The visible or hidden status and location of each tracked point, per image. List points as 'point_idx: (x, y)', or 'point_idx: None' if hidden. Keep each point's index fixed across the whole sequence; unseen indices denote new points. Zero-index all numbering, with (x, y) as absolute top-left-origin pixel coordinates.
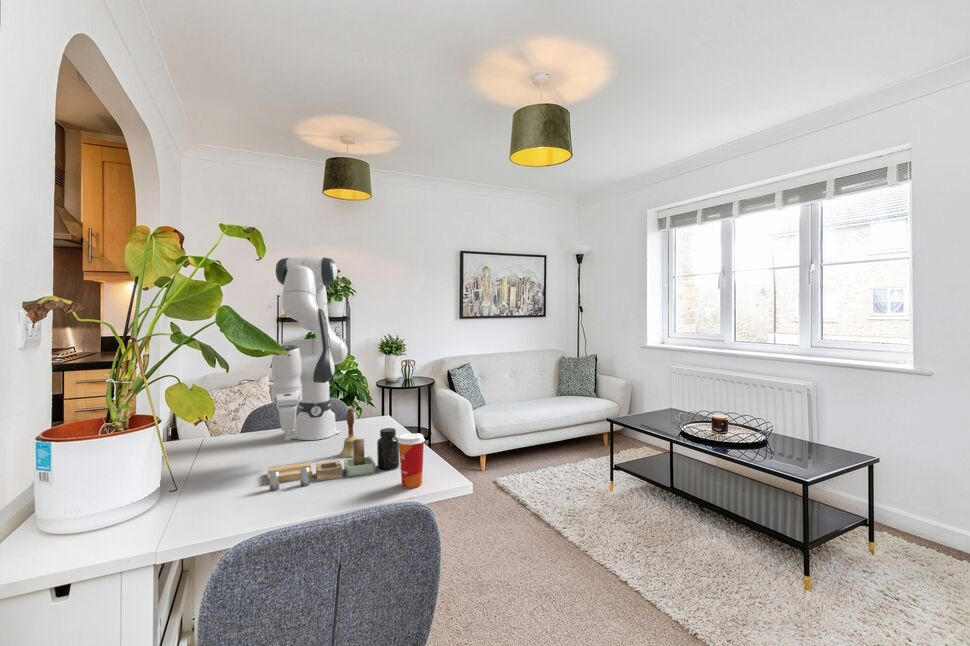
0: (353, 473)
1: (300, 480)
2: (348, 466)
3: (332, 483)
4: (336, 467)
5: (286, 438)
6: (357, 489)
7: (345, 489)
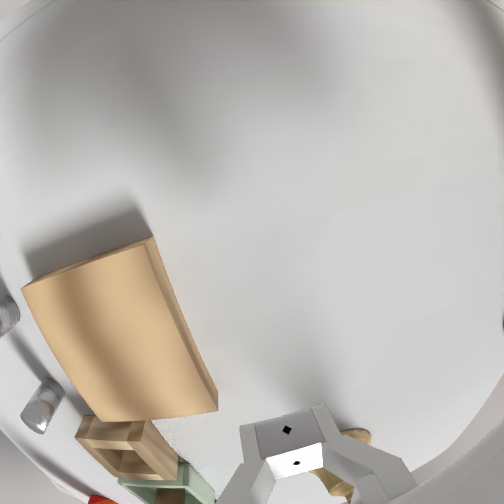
0: None
1: (38, 388)
2: (126, 484)
3: None
4: (113, 470)
5: (242, 439)
6: (64, 459)
7: (57, 446)
